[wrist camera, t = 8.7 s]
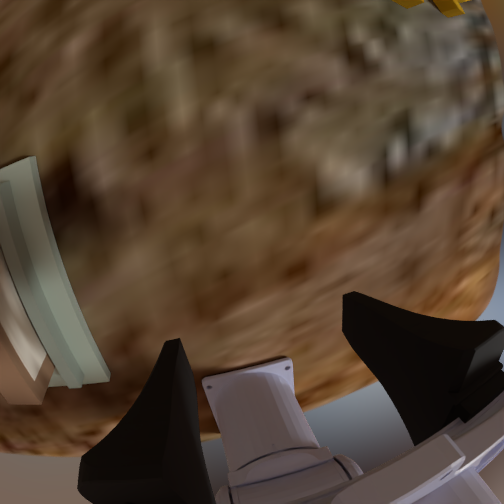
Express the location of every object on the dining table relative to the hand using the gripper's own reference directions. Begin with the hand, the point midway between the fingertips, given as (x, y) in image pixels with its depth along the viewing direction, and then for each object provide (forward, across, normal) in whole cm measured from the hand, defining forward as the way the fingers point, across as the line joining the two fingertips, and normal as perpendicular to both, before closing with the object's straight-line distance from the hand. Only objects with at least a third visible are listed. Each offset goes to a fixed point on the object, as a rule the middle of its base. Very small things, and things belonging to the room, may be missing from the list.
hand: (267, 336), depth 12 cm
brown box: (+8, +17, -1) cm, 19 cm away
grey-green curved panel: (+9, +17, -1) cm, 20 cm away
